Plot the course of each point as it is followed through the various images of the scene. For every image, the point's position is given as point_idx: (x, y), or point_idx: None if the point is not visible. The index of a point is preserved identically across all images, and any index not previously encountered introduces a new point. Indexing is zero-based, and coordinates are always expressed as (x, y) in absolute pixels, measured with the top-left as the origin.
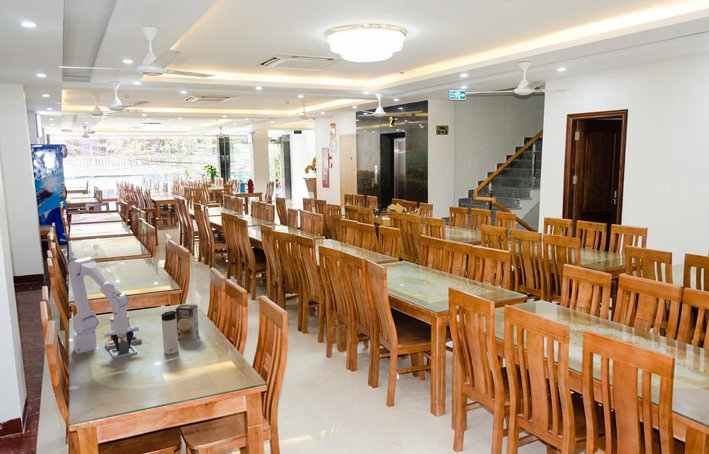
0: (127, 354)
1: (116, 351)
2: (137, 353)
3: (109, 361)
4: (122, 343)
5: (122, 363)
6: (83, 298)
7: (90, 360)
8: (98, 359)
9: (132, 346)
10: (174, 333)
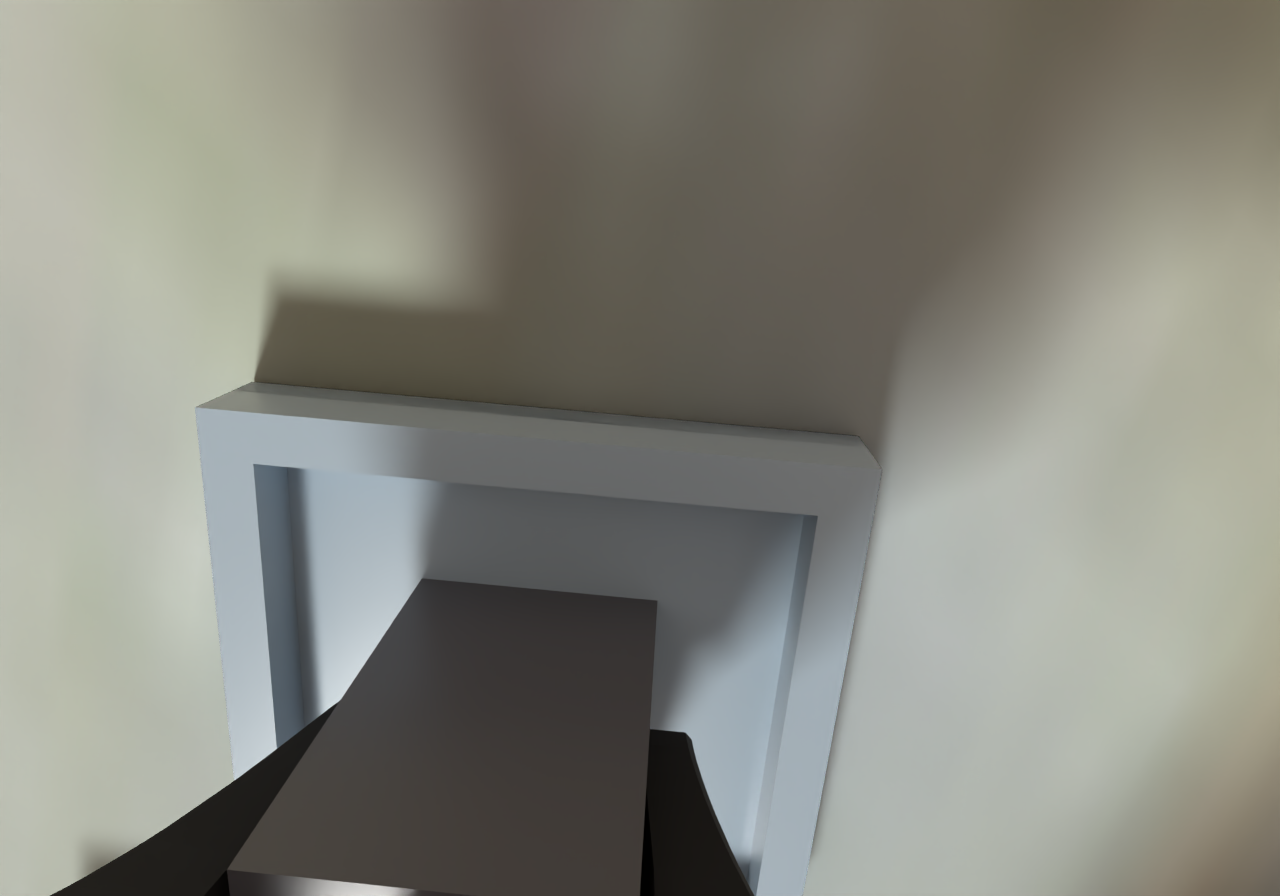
0: (492, 427)
1: None
2: (232, 392)
3: (974, 455)
4: (494, 841)
5: (767, 21)
6: None
7: (1253, 821)
8: (1101, 759)
9: None
10: None
